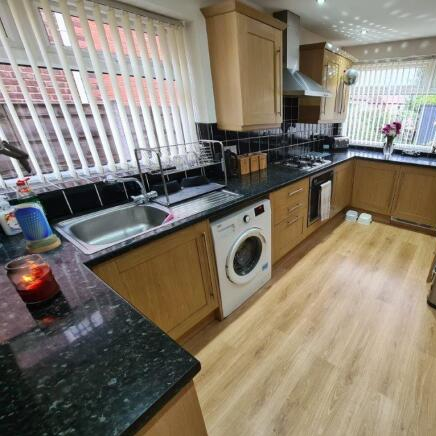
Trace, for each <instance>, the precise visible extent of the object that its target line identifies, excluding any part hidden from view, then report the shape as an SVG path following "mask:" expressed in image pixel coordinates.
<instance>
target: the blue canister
mask: <svg viewBox="0 0 436 436" xmlns="http://www.w3.org/2000/svg"><path fill="white" fill-rule="evenodd" d="M12 214H13V216H14V217H15V220H16V223H17V224H18V226H19V227H20V230H21V232H22V234H23V235H24V237H25V240H26V241H30V242H32V243H36V242H42V241H45V240H48V239H50V238H51V237H52V234H54V233H53V230H52V227H51V226H50V224H49V221H48V219H47V217H46V215H45V213H44V211H43V208H42V207H41V206H40V205H38V204H37V203H36V202H31V201H30V202H24V203H20V204H16V205H14V206H13V212H12Z"/></svg>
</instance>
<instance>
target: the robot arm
mask: <svg viewBox="0 0 436 436" xmlns="http://www.w3.org/2000/svg"><path fill="white" fill-rule="evenodd" d="M0 155H2V156H5V157H6V156H7V157H9V158H12V159H14V160H18V163H19V164H20V165H21V167H22V168H23V169H24V170H25V172H27V173H28V174H32V169H31V167H30V163H29V161H28V160H29V158H30V157H29V153H26V152H25V151H23V150H21V149H19V148H18V147H15V146H13V145H12V144H10V143H9V142H8V141H7V140H4V139H3V140H1V141H0Z"/></svg>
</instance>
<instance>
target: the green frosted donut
mask: <svg viewBox="0 0 436 436" xmlns="http://www.w3.org/2000/svg"><path fill="white" fill-rule="evenodd" d="M61 244H62V241H61V239H60V237H58V236H57V235H56V233H53V234H52V237H51V238H50V239H48V240H45V241H42V242H36V243H32V242H30V241H28V240H26V241H25V245H26V246H25V249H26V251H27V253H29V254H40V253H45V252H48V251H52V250H54V249H56V248H58V247H60V246H61Z"/></svg>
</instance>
